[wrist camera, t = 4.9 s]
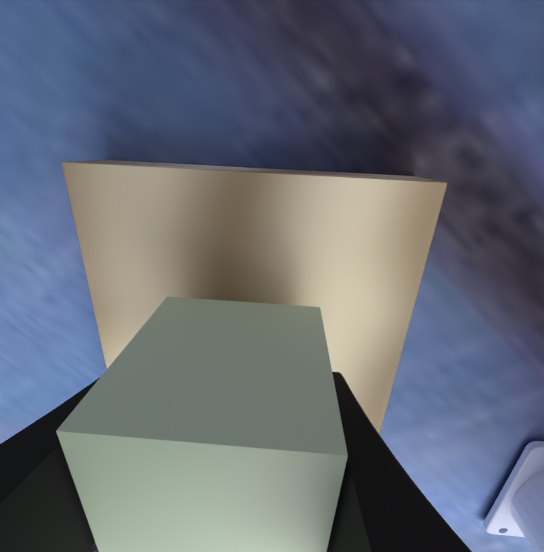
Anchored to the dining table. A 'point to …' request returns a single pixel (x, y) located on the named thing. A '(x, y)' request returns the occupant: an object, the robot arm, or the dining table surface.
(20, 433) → the robot arm
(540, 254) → the dining table surface
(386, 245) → the base
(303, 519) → the cube
